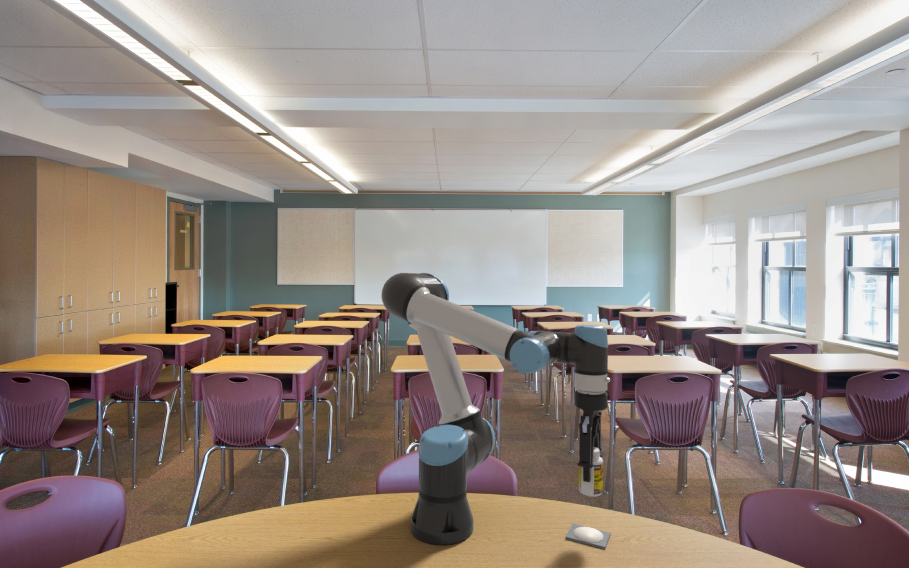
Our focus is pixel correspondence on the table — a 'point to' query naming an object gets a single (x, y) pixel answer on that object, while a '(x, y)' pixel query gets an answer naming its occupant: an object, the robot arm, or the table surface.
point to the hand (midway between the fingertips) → (590, 488)
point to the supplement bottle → (595, 473)
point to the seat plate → (588, 536)
